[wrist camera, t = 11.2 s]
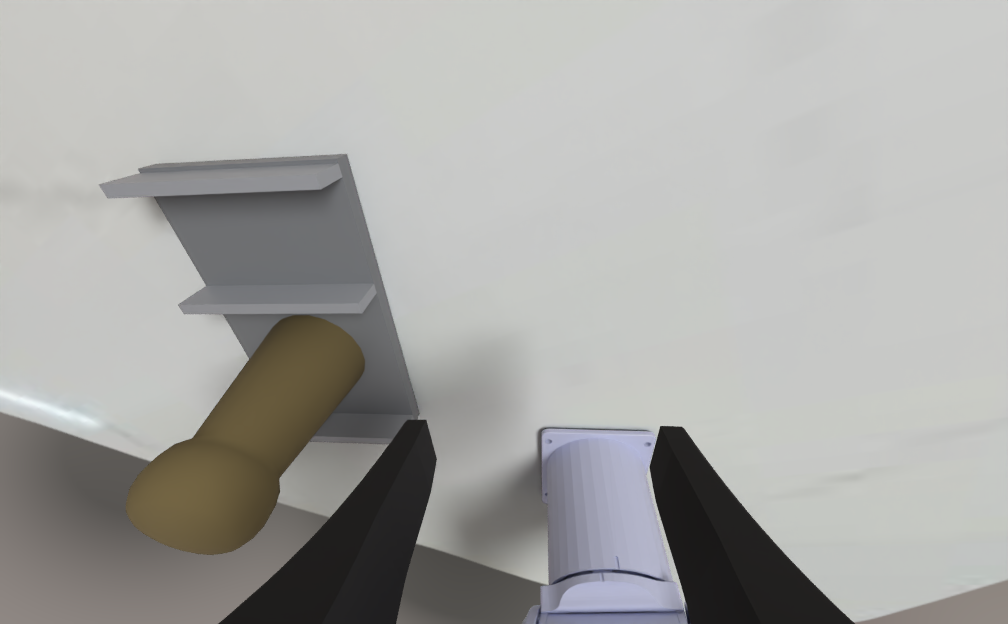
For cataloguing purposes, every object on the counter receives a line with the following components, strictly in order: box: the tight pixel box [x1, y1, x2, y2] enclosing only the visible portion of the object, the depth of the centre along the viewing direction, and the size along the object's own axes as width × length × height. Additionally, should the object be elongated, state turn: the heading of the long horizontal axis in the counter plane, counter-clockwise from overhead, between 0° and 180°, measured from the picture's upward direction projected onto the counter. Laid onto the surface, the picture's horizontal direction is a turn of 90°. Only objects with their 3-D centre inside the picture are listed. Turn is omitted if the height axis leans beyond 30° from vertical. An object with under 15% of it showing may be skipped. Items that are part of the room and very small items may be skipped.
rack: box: [99, 154, 419, 444], centre depth 22 cm, size 18×10×3 cm, turn 4°
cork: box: [126, 315, 365, 555], centre depth 19 cm, size 6×6×11 cm
